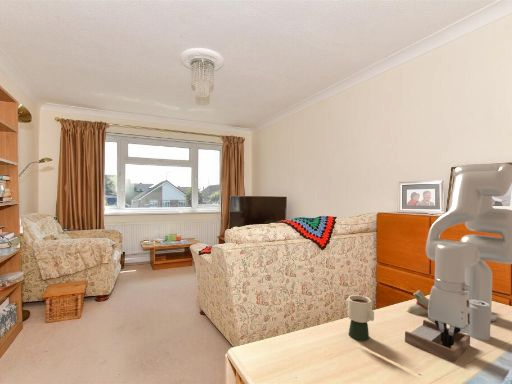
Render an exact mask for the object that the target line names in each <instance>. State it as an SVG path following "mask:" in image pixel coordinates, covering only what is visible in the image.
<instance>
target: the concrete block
mask: <svg viewBox="0 0 512 384" xmlns="http://www.w3.org/2000/svg"><path fill="white" fill-rule="evenodd" d="M410 333H412V334H415V335H417V336H420V337H422V338H425V339H428V340H430V341H433V342H435V343H437V342H438V341H440V340H441V332H440V331H438V330H435V329H433V328H430V327H427V326H424V325H423V324H422V325H420V326H418V327H417V328H416V329H413V330H412V331H410Z"/></svg>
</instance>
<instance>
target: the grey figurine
mask: <svg viewBox="0 0 512 384" xmlns="http://www.w3.org/2000/svg"><path fill="white" fill-rule="evenodd" d="M413 297H414V298H415V299H416V303H414V304H411V305H409V307H408V308H407V310H406V312H407V313H409V314H412V315H415V316H422V317H423V316H427V317H428V316H429V315H428V304H429V298H427V297H426V296H425V294H424V293H423V292H422V291H421V290H420V289H419V290H417V291H416V292H414V293H413Z"/></svg>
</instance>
